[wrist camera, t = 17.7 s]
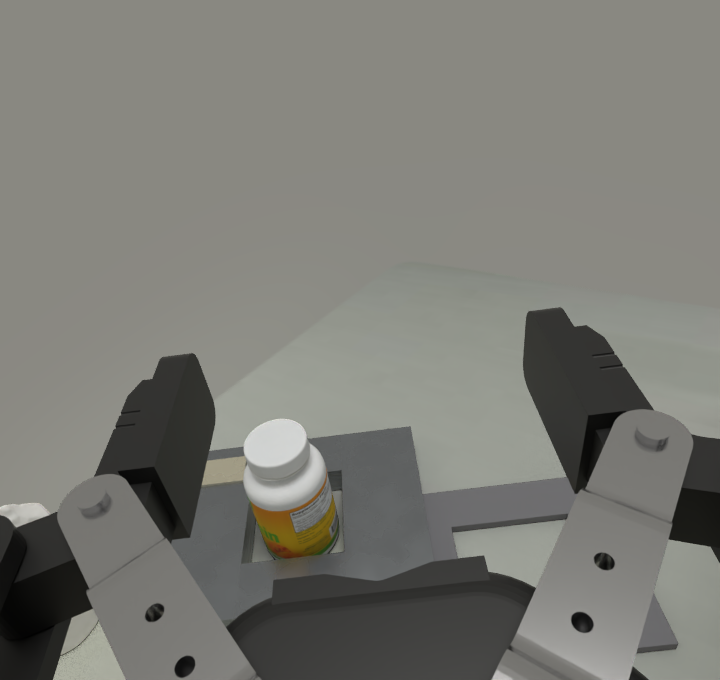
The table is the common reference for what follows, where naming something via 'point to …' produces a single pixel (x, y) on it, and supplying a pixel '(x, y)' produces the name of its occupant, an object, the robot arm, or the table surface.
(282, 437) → the supplement bottle
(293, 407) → the table surface
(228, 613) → the socket block
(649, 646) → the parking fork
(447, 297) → the table surface
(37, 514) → the white plastic bottle
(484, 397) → the table surface
